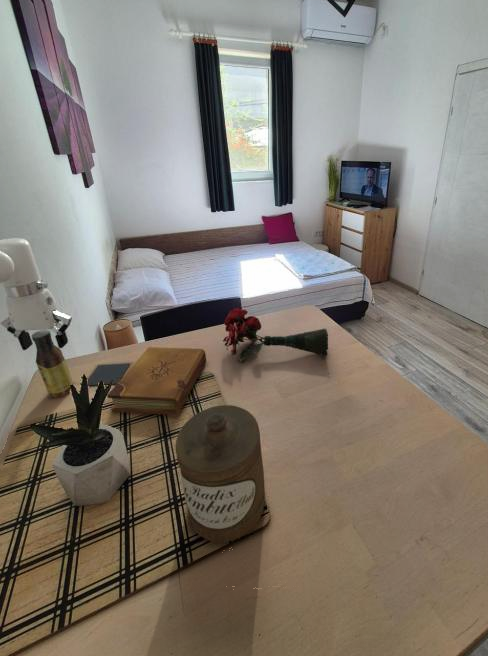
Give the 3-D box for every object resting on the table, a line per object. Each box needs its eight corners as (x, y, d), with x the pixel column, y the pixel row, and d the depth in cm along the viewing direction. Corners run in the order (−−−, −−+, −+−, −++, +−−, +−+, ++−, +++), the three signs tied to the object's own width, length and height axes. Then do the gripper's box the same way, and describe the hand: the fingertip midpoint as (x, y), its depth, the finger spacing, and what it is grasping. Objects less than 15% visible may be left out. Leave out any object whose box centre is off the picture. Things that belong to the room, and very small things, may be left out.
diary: (179, 415, 85) (176, 398, 83) (111, 412, 87) (106, 395, 84) (206, 363, 106) (204, 348, 104) (151, 361, 108) (148, 346, 106)
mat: (83, 386, 97) (83, 385, 96) (98, 365, 106) (98, 365, 106) (118, 384, 97) (117, 383, 97) (130, 364, 106) (130, 363, 106)
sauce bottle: (51, 387, 96) (29, 329, 88) (75, 381, 99) (56, 324, 91) (46, 401, 91) (23, 341, 83) (72, 395, 93) (52, 335, 85)
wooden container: (177, 541, 58) (156, 452, 49) (202, 466, 71) (189, 386, 63) (259, 546, 57) (252, 456, 48) (269, 469, 70) (265, 389, 62)
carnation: (323, 369, 115) (223, 366, 114) (321, 320, 123) (228, 317, 122) (330, 358, 101) (217, 355, 100) (327, 303, 109) (223, 300, 108)
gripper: (68, 281, 86) (85, 337, 92) (-1, 284, 84) (21, 340, 91) (52, 292, 79) (71, 352, 86) (-24, 295, 78) (2, 356, 84)
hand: (45, 346), depth 88 cm, fingers open, 8 cm apart
